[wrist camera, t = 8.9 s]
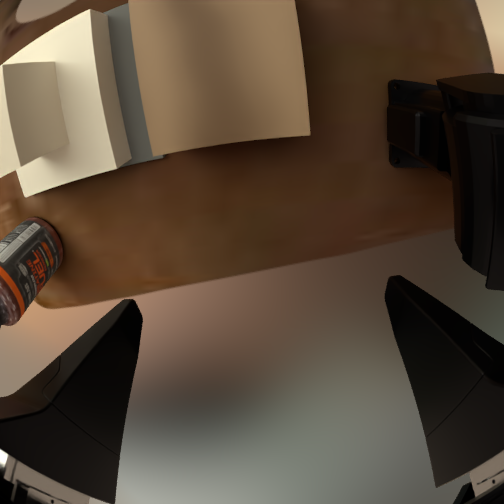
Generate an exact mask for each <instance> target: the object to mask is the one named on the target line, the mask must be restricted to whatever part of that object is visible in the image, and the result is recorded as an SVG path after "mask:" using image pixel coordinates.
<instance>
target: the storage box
mask: <svg viewBox="0 0 504 504" xmlns="http://www.w3.org/2000/svg"><path fill="white" fill-rule="evenodd" d="M128 2H129V13H130V23H131V32H132V40H133V48H134V55H135V62H136V69H137V75H138V81H139V87H140V93H141V99H142V104H143V109H144V115H145V120H146V125H147V130H148V135H149V139H150V144H151V149H152V153H153V157H154V156H158V155H163V154H168V153H173V152H178V151H184V150H189V149H195V148H201V147H207V146H213V145H220V144H227V143H234V142H242V141H251V140H260V139H269V138H280V137H293V136H308V135H310V123H309V111H308V100H307V89H306V80H305V71H304V62H303V54H302V46H301V39H300V32H299V25H298V18H297V12H296V6H295V0H128Z"/></svg>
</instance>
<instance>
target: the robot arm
mask: <svg viewBox="0 0 504 504" xmlns="http://www.w3.org/2000/svg"><path fill="white" fill-rule="evenodd" d="M436 81H437V85H438V86H436V85H431V84H425V83H418V82H412V81H404V80H391V81H389V83H388V90H389V106H388V107H387V140H388V141H389V143H390V145H389V162H390V164H391V165H393V166H394V167H423V168H431V169H433V170H435V171H436V172H438V173H439V174H441V175H443V176H444V177H446V178H447V179H449V180H450V181H452V189H453V204H454V233H455V242H456V244H457V246H458V248H459V250H460V251H461V253H462V259H463V261H464V262H466V264H468V265H469V266H470V267H471V268H472V269H474V270H476V271H477V272H479V273H481V274H482V275H485V276H487V279H486V284H485V286H486V288H487V289H491V290H502V291H504V74H497V73H481V74H472V75H464V76H457V77H450V78H444V79H438V80H436ZM395 83H396V84H397V86H398V87H397V89H395V88H394V84H395ZM395 158H398V161H397V162H396V163H395V162H394V160H395ZM385 302H386V306H387V309H388V313H389V317H390V321H391V325H392V329H393V332H394V336H395V339H396V342H397V345H398V348H399V351H400V354H401V356H402V359H403V362H404V365H405V368H406V371H407V374H408V377H409V381H410V384H411V387H412V390H413V393H414V397H415V400H416V404H417V407H418V411H419V414H420V418H421V422H422V425H423V430H424V434H425V437H426V442H427V447H428V451H429V456H430V460H431V465H432V470H433V476H434V481H435V486H436V488H438V487H440V486H442V485H444V484H447V483H449V482H451V481H453V480H455V479H457V478H459V477H461V476H463V475H465V474H467V473H470V477H471V482H469V483H467V484H465V485H463V486H462V488H461V490H460V492H459V494H458V496H457V497H456V499H455V501H454V503H453V504H504V345H503V344H502V343H500V342H498V341H497V340H495V339H494V338H492V337H491V336H489V335H488V334H486V333H485V332H483V331H482V330H480V329H479V328H478V327H476V326H475V325H473V324H472V323H471V324H470V322H469V321H468V320H466V319H465V318H463V317H462V316H460V315H459V314H458V313H456V312H455V311H453V310H452V309H451V308H449V307H448V306H446V305H444V304H443V303H441V302H440V301H439V300H437V299H436V298H434V297H433V296H431V295H430V294H428V293H427V292H425V291H424V290H422V289H421V288H419V287H418V286H416V285H415V284H413V283H411V282H410V281H408V280H407V279H405V278H404V277H402V276H400V275H396V276H391V277H389V279H388V282H387V286H386V291H385ZM142 323H143V318H142V314H141V312H140V310H139V308H138V306H137V304H136V302H135V300H133V299H124V300H122V301H121V302H120V303H119V304H118V305H116V306H115V307H114V308H113V309H112V310H110V311H109V312H108V313H107V314H106V315H105V316H104V317H102V318H101V319H100V320H99V321H98V322H96V323H95V324H94V325H93V326H92V327H91V328H90V329H88V330H87V331H86V332H85V333H84V334H83V335H82V336H80V337H79V338H78V339H77V340H76V341H75V342H74V343H73V344H71V345H70V346H69V347H68V348H67V349H66V350H65V351H64V352H62V353H61V355H59V356H58V357H57V358H56V359H55V360H54V361H53V362H51V363H50V364H49V365H48V366H47V367H46V368H45V369H44V370H42V371H41V372H40V373H39V374H37V375H36V376H35V377H34V378H32V379H31V380H30V381H29V382H27V383H26V384H25V385H24V386H23V387H21V388H20V389H19V390H17V391H16V392H15V393H13V394H11V395H9V396H6V397H0V504H88V503H89V498H90V497H92V498H95V499H98V500H101V501H103V502H106V503H109V504H115V496H116V486H117V477H118V468H119V460H120V452H121V445H122V438H123V431H124V425H125V419H126V414H127V408H128V403H129V398H130V392H131V387H132V383H133V378H134V373H135V368H136V364H137V359H138V353H139V346H140V338H141V330H142Z"/></svg>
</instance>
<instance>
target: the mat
mask: <svg viewBox="0 0 504 504" xmlns="http://www.w3.org/2000/svg"><path fill="white" fill-rule="evenodd" d="M103 14H105V15H108V26H109V36H110V44H111V52H112V59H113V66H114V73H115V79H116V85H117V91H118V96H119V102H120V107H121V112H122V117H123V122H124V127H125V131H126V136H127V140H128V145H129V149H130V153H131V157H132V159H130V160H129V161H127V162H126V163H124V164H123V165H122V166H120V167H124V166H128V165H132V164H136V163H141V162H145V161H150V160H155V159H159V158H164V157H165V156H166V154H163V155H158V156H154V157H153V153H152V149H151V144H150V139H149V135H148V130H147V125H146V120H145V115H144V109H143V104H142V99H141V93H140V87H139V81H138V75H137V69H136V62H135V55H134V48H133V40H132V32H131V23H130V13H129V3H127V4H124V5H122V6H119V7H116V8H114V9H112V10H109V11H107V12H104V13H103ZM120 167H119V168H120Z"/></svg>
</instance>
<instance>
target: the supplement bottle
mask: <svg viewBox="0 0 504 504" xmlns="http://www.w3.org/2000/svg"><path fill="white" fill-rule="evenodd" d="M62 258H63V249H62V244H61V241H60V239H59V237H58V235H57V233H56V232H55V230H54V229H53V228H52V227H51V226H50V225H49V224H48V223H47V222H45V221H44V220H42V219H40V218H36V217H32V218H28V219H26V220H25V221H23V222H22V223H21V224H20V225H18V226H17V227H16V228H15V229H14V230H13V231H12V232H10V233H9V234H8V235H7V236H6V237H5V238H4V239H2V240H1V241H0V327H1V325H6V326H11V325H14V324H15V323H17V322H18V321H19V320H20V318H21V317H22V315H23V314H24V312H25V311H26V310H27V308H28V307H29V305H30V304H31V303H32V301H33V300H34V298H35V297H36V296H37V294H38V293H39V292H40V290H41V289H42V288H43V286H44V285H45V284H46V283H47V281H48V280H49V279H50V277H51V276H52V275H53V274H54V272H55V271H56V270H57V269H58V267H59V266H60V264H61V262H62Z"/></svg>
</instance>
